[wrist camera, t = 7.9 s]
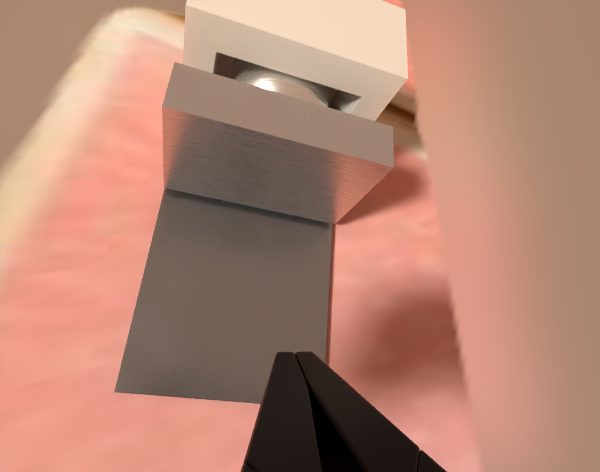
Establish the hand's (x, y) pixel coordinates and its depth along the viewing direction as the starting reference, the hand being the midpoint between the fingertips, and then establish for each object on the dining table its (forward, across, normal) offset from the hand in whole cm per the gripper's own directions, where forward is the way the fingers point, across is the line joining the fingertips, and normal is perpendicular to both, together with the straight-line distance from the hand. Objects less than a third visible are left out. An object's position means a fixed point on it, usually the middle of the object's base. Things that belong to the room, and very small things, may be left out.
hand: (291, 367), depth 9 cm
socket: (+21, -1, -3) cm, 22 cm away
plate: (+15, 0, +4) cm, 15 cm away
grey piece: (+19, -1, -2) cm, 19 cm away
